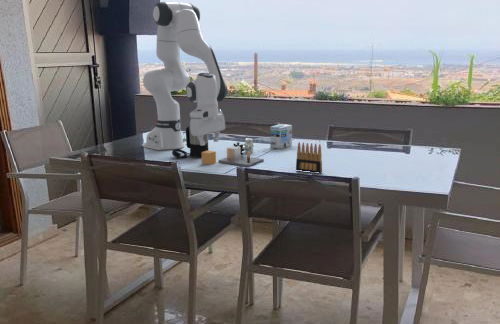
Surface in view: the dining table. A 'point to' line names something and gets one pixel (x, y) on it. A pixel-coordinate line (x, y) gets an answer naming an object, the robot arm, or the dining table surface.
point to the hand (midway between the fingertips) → (209, 143)
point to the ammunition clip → (309, 158)
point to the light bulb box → (281, 136)
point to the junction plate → (239, 158)
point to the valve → (245, 146)
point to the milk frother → (192, 146)
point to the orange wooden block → (208, 157)
